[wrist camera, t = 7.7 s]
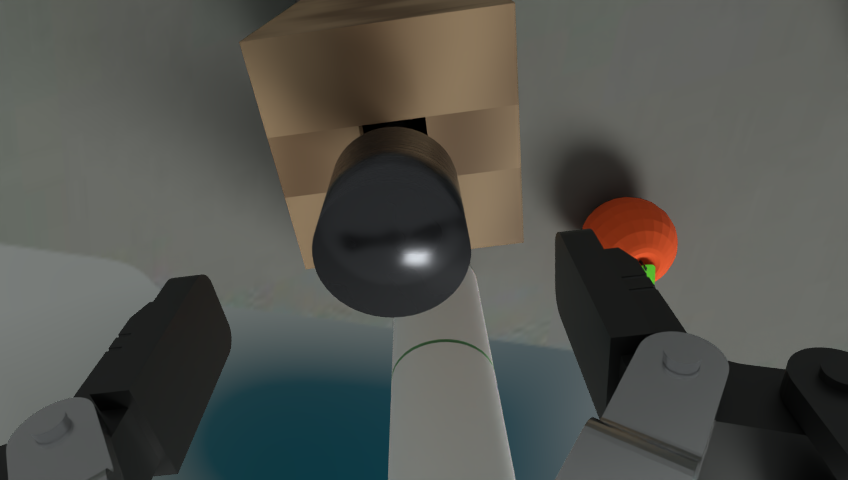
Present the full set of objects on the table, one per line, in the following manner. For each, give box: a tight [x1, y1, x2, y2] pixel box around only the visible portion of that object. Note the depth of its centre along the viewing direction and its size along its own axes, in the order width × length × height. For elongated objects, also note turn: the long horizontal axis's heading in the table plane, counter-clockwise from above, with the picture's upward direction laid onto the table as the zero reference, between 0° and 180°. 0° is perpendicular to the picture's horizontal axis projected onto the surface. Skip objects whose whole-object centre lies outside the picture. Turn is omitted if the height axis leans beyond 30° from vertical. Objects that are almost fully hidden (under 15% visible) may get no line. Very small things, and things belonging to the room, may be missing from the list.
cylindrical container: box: [388, 266, 515, 480], centre depth 35 cm, size 7×7×25 cm
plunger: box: [312, 119, 471, 317], centre depth 24 cm, size 7×7×24 cm
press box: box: [239, 0, 524, 269], centre depth 27 cm, size 12×12×19 cm
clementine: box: [582, 197, 677, 284], centre depth 40 cm, size 8×7×7 cm
